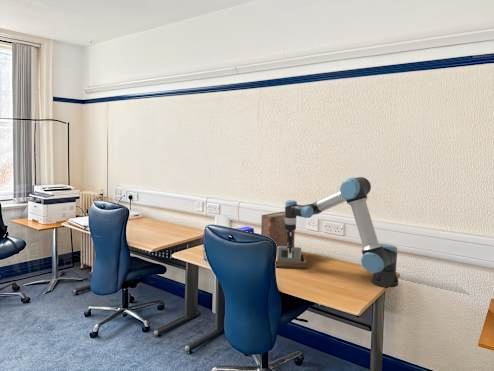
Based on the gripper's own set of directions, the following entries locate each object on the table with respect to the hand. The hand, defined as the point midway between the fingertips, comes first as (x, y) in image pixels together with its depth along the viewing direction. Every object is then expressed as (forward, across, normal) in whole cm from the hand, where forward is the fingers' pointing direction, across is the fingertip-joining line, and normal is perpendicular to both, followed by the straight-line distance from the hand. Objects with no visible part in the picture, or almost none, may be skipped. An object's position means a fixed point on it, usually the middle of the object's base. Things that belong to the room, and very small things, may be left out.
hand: (289, 254), depth 254 cm
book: (+6, -20, -8) cm, 22 cm away
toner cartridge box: (+6, -12, -42) cm, 44 cm away
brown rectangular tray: (+6, 0, 0) cm, 6 cm away
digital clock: (+6, 0, 0) cm, 6 cm away
